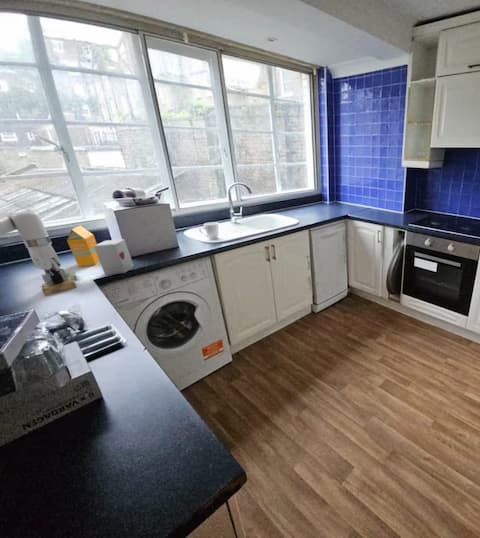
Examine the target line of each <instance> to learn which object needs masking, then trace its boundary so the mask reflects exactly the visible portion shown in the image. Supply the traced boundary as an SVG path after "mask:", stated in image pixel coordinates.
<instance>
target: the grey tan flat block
mask: <svg viewBox="0 0 480 538" xmlns="http://www.w3.org/2000/svg"><path fill="white" fill-rule="evenodd" d="M60 269H61V270H59V271H60V274H61V276H62V278H63V280H64V281H66V280H68V278H67V275H66V273H65V271H66V270H65V269H64V268H60ZM41 277H42V280H43V281H44V283H45V284H46V286H51V285H54V282H53V280H52V278H51V274H50V273H47V274H46V273H45V274H41Z"/></svg>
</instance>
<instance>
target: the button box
mask: <svg viewBox="0 0 480 538" xmlns="http://www.w3.org/2000/svg"><path fill="white" fill-rule="evenodd" d="M64 271H65V273H66V275H67V278H69V277H73V279H74V278H75V279H74V281H75V282H76V281H78V275H77V273H76V272H75V271H72V272H69V270H64Z"/></svg>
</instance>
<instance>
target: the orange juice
mask: <svg viewBox="0 0 480 538" xmlns="http://www.w3.org/2000/svg"><path fill="white" fill-rule="evenodd" d="M66 241H67V244H68V246H69V248H70V251H71V253H72V255H73V257H74V260H75V262H76V264H77V267H78V268H82V267H83V268H84V267H89V266H90V267H91V266H97V265H98V264H99V263H100V261H99V258H98V256H97V253H96V251H95V248H94V246H95V245H97V244H98V242H97V240H96V238H95V235H94V234H93V233H92V232H91V231H89V230H87V229H86V228H85V227H83V226H82V225H81V224H80V225H78V226H75V227H73V228H71V229H70V231H69V234H68V237H67V239H66Z"/></svg>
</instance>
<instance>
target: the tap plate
mask: <svg viewBox="0 0 480 538" xmlns="http://www.w3.org/2000/svg"><path fill="white" fill-rule="evenodd" d="M74 279H75V278H74ZM74 279H73V277H69V278H68V280H66V281H63V282H60V283H57V284H54V285H51V286H46V284H45V282H44V283H41V285H40V288H41V291H42V293H43V295H44V296H50V295H53V294H58V293H61V292H66V291H69V290H73V289H77V284H76V280H75V281H74Z"/></svg>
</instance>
